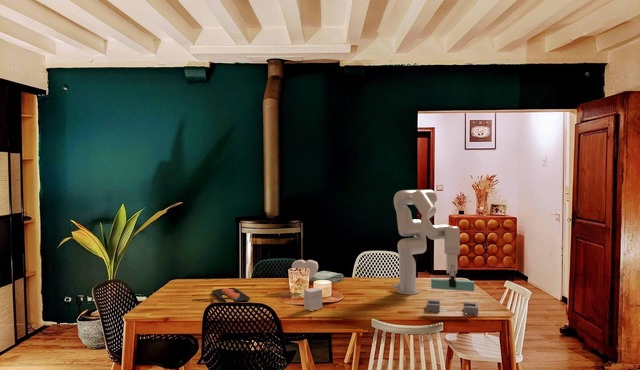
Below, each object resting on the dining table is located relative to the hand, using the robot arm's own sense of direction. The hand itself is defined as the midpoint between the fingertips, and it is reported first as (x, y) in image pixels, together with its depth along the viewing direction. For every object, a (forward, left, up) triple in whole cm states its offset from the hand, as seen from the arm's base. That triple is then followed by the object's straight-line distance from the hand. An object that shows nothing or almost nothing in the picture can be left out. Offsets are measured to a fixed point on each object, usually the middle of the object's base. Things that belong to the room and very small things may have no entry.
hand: (452, 286), depth 233 cm
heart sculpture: (-85, +20, -13) cm, 88 cm away
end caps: (0, 0, -13) cm, 13 cm away
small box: (-70, -15, -13) cm, 73 cm away
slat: (0, 0, -2) cm, 2 cm away
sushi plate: (-128, -9, -14) cm, 129 cm away
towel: (-80, +46, -13) cm, 93 cm away
